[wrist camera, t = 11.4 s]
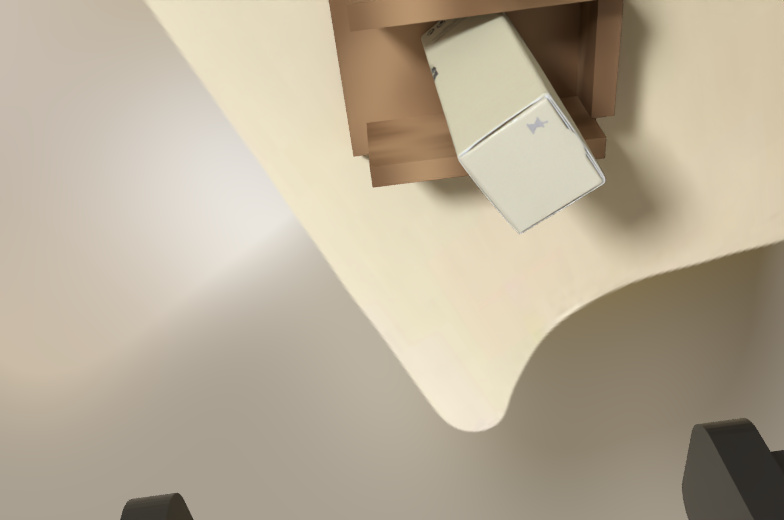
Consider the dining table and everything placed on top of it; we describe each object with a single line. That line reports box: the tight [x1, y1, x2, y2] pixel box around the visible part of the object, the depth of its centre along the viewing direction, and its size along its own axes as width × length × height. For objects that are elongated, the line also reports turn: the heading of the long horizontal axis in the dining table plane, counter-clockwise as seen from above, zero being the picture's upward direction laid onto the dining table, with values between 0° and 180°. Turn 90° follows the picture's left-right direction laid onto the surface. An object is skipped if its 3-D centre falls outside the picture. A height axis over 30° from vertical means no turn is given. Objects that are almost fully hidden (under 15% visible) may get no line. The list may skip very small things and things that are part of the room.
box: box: [421, 12, 606, 234], centre depth 34 cm, size 5×4×13 cm
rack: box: [329, 0, 623, 187], centre depth 37 cm, size 14×11×6 cm
